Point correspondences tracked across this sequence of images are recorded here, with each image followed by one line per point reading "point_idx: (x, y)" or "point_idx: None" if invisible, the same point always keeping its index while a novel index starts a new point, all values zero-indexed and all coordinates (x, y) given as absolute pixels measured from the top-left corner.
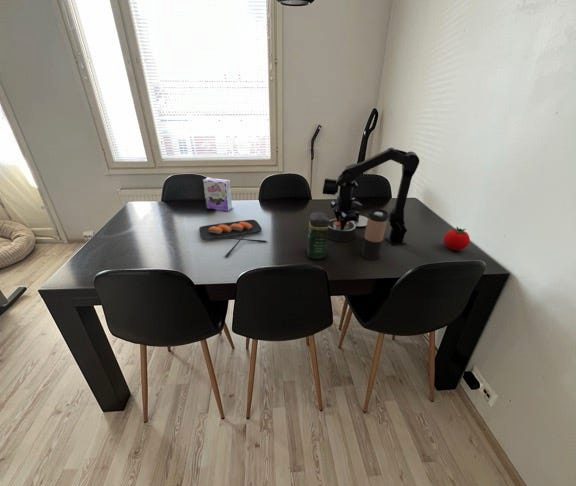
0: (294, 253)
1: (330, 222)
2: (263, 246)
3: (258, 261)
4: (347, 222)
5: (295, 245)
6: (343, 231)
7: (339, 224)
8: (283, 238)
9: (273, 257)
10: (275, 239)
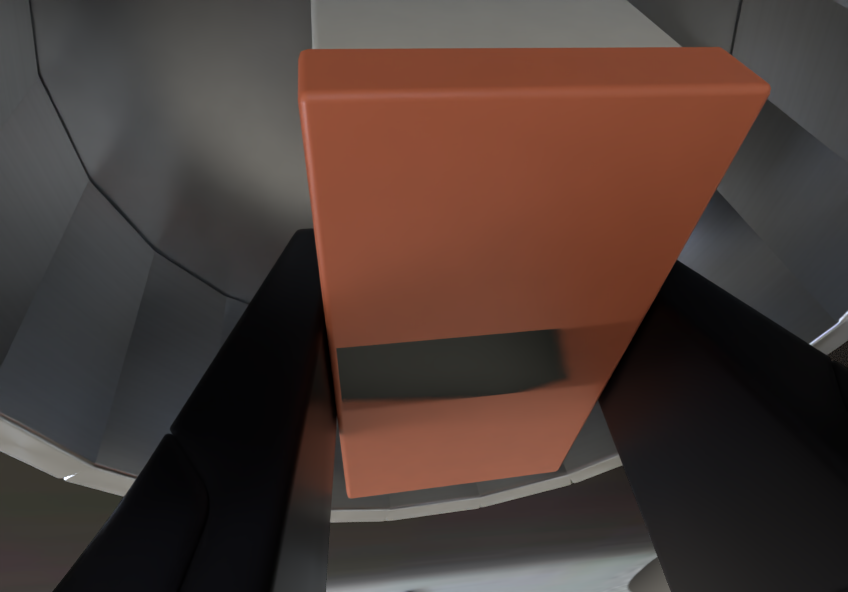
0: (616, 510)
1: (157, 432)
2: (458, 588)
3: (595, 578)
4: (533, 127)
5: (513, 513)
6: (840, 328)
7: (565, 420)
8: (376, 556)
9: (595, 556)
10: (382, 575)
